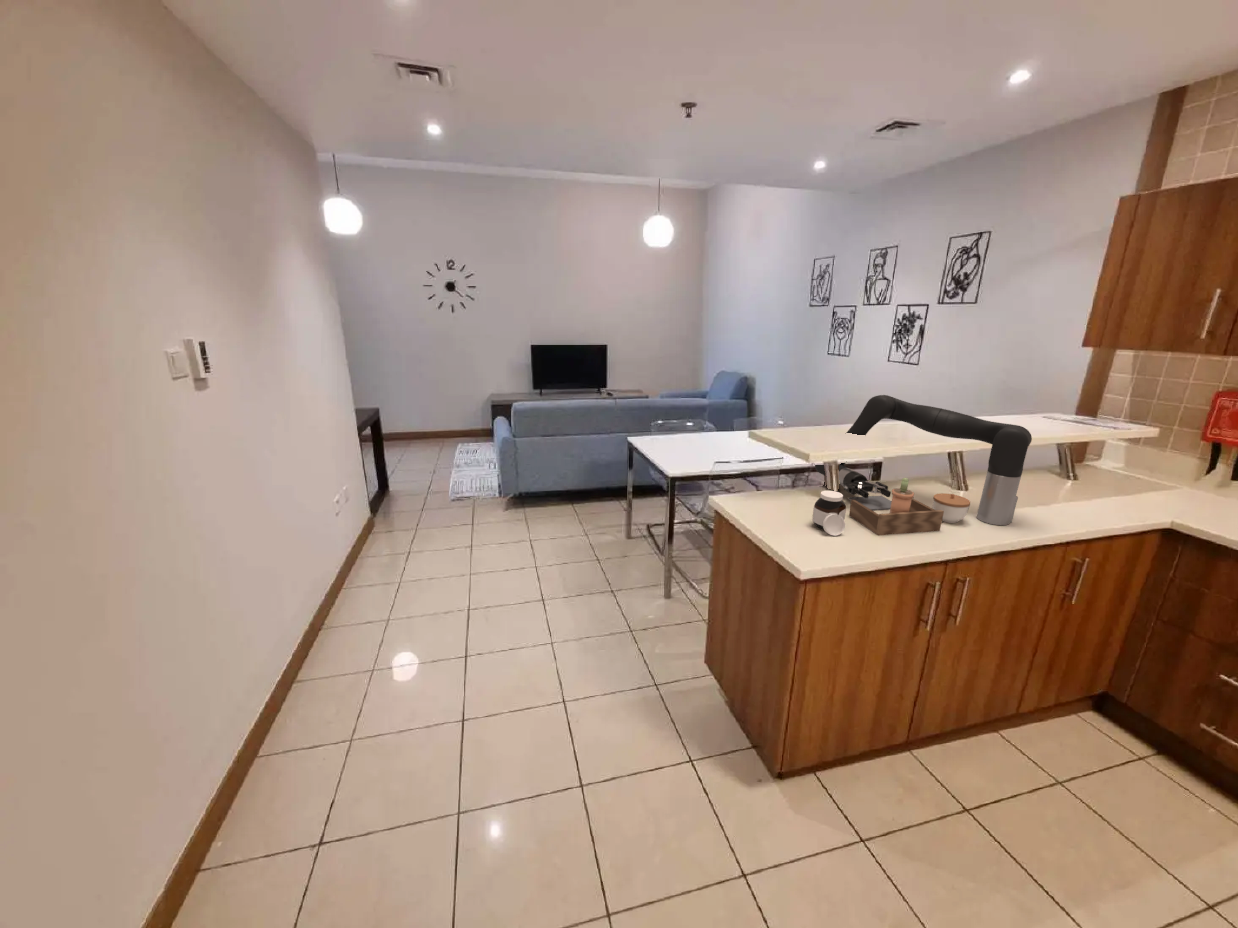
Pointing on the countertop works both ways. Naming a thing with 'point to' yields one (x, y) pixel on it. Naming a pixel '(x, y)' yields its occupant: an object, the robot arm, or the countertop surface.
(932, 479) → the countertop surface
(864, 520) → the open wooden tray
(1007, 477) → the robot arm
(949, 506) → the lidded jar
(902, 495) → the terracotta pot
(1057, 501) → the countertop surface
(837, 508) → the spread jar
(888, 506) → the rubber mat
